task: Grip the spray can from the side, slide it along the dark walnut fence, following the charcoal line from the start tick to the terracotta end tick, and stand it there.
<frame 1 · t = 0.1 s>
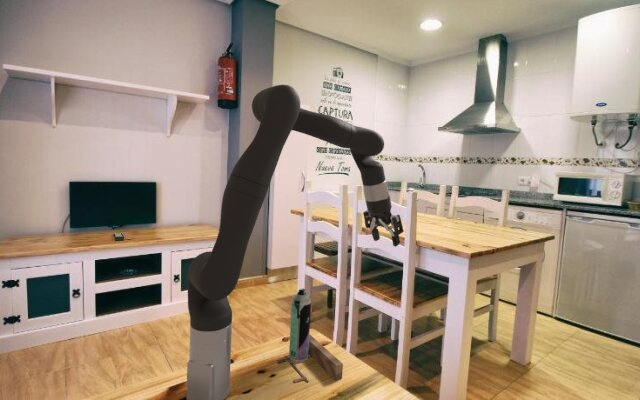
hand: (386, 242, 113), 31 cm above the table, tool tilted 20°, fingers open, 8 cm apart
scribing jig: (315, 375, 92), on the table
spray can: (298, 357, 100), on the table
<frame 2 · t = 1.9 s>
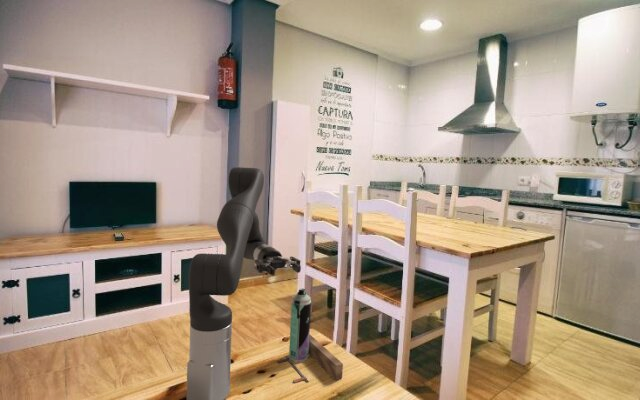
hand: (286, 271, 107), 22 cm above the table, tool horizontal, fingers open, 8 cm apart
nothing on the table moved.
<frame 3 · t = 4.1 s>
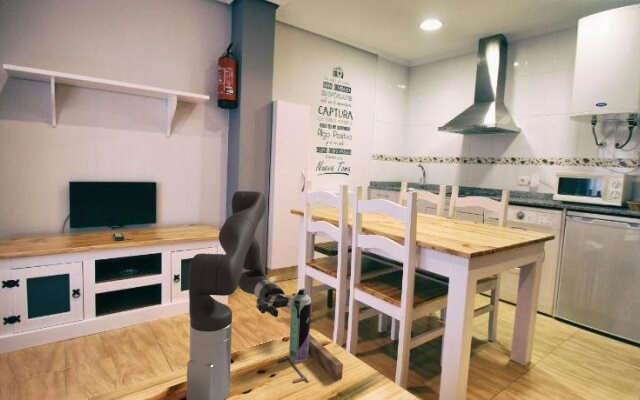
hand: (290, 311, 104), 11 cm above the table, tool horizontal, fingers open, 8 cm apart
nothing on the table moved.
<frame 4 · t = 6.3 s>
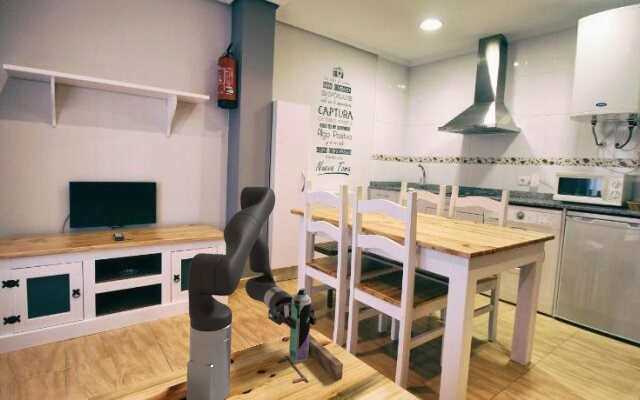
hand: (304, 323, 97), 11 cm above the table, tool horizontal, fingers closed on spray can, 5 cm apart
spray can: (298, 357, 100), on the table, touching gripper
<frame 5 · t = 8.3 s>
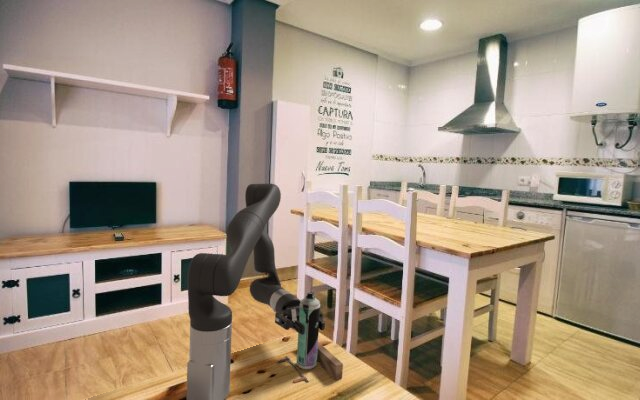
hand: (313, 328, 93), 12 cm above the table, tool horizontal, fingers closed on spray can, 5 cm apart
spray can: (306, 364, 96), on the table, touching gripper
when the fingers open (11 cm above the table, at t = 10.6 s): spray can stays where it is, on the table.
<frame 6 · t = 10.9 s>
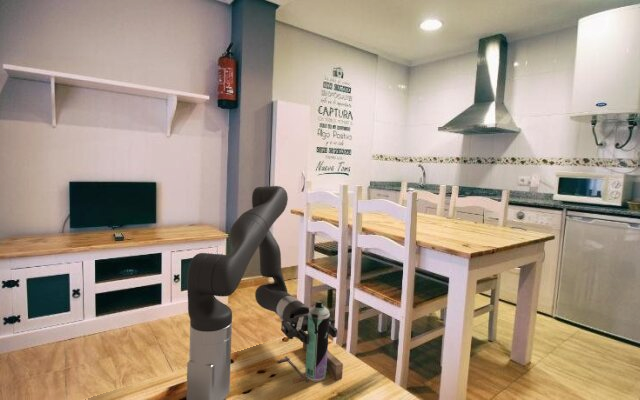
hand: (322, 337, 89), 11 cm above the table, tool horizontal, fingers open, 8 cm apart
spray can: (315, 376, 92), on the table
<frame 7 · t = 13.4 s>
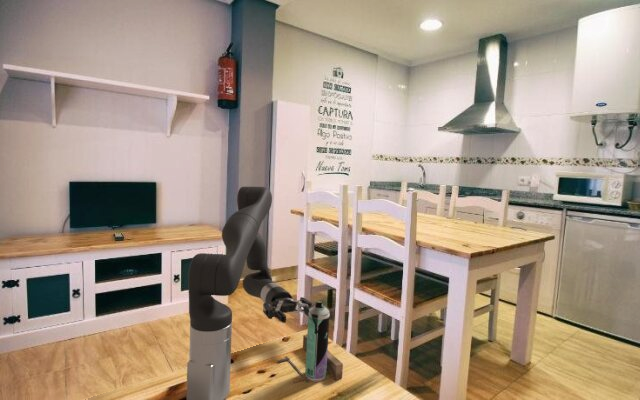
hand: (298, 316, 100), 11 cm above the table, tool horizontal, fingers open, 8 cm apart
nothing on the table moved.
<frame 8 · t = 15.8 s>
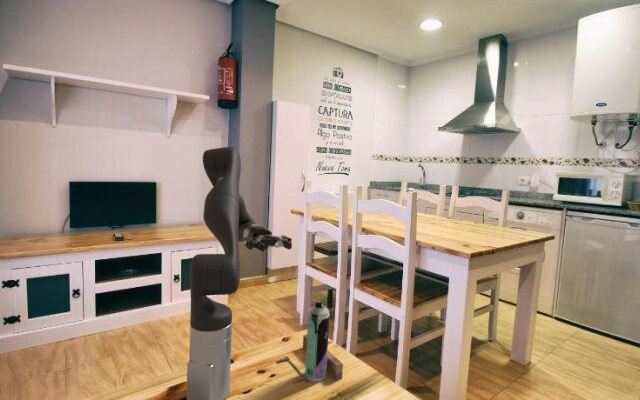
hand: (277, 247, 104), 30 cm above the table, tool horizontal, fingers open, 8 cm apart
nothing on the table moved.
at the end: spray can 0.2 cm from the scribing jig (horizontally); spray can tilted 0°; the gripper is holding nothing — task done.
